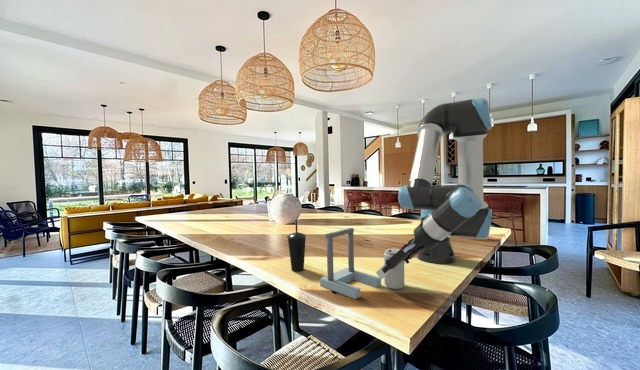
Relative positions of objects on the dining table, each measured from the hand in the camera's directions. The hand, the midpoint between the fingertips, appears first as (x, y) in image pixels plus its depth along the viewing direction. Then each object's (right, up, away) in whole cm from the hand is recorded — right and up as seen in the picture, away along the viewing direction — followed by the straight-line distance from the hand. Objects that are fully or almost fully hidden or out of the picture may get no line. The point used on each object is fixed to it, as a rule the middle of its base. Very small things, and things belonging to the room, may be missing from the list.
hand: (384, 272), depth 92 cm
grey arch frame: (-11, -4, -1) cm, 12 cm away
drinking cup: (-31, -4, +17) cm, 35 cm away
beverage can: (+3, -4, -2) cm, 5 cm away
